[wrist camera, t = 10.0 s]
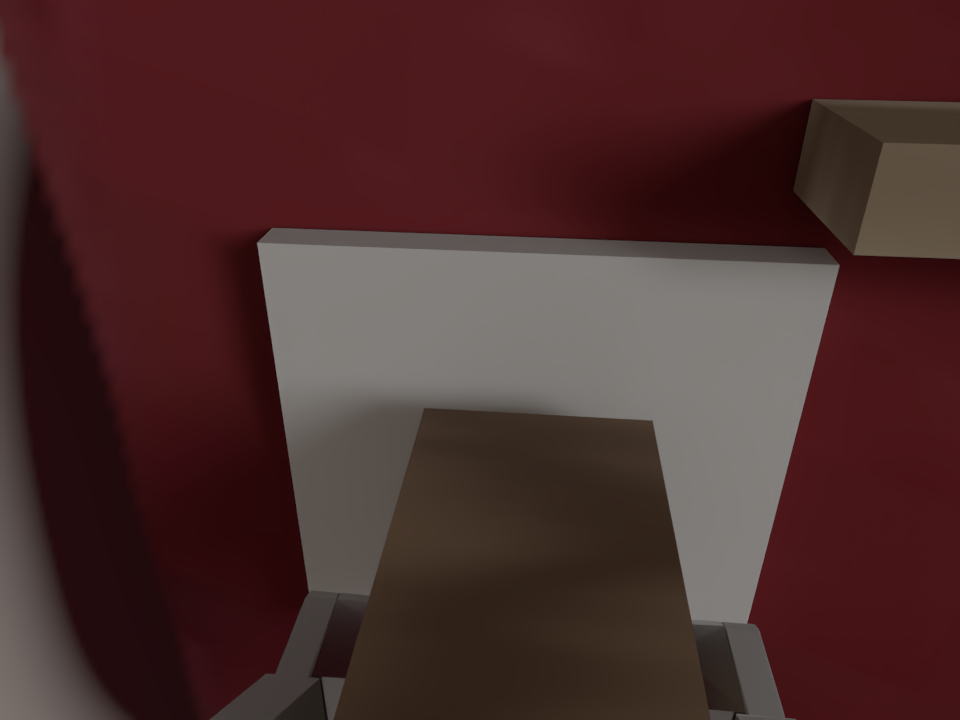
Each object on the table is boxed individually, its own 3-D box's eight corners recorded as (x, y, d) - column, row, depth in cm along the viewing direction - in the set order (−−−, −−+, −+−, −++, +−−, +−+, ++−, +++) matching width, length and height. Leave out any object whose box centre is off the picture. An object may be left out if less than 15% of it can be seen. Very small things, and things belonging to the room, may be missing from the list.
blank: (652, 420, 13) (734, 844, 7) (624, 622, 15) (665, 1067, 9) (424, 407, 13) (309, 802, 7) (431, 608, 16) (350, 1029, 10)
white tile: (729, 638, 18) (735, 667, 17) (324, 607, 19) (314, 633, 18) (824, 247, 13) (839, 264, 12) (272, 227, 14) (257, 242, 13)
